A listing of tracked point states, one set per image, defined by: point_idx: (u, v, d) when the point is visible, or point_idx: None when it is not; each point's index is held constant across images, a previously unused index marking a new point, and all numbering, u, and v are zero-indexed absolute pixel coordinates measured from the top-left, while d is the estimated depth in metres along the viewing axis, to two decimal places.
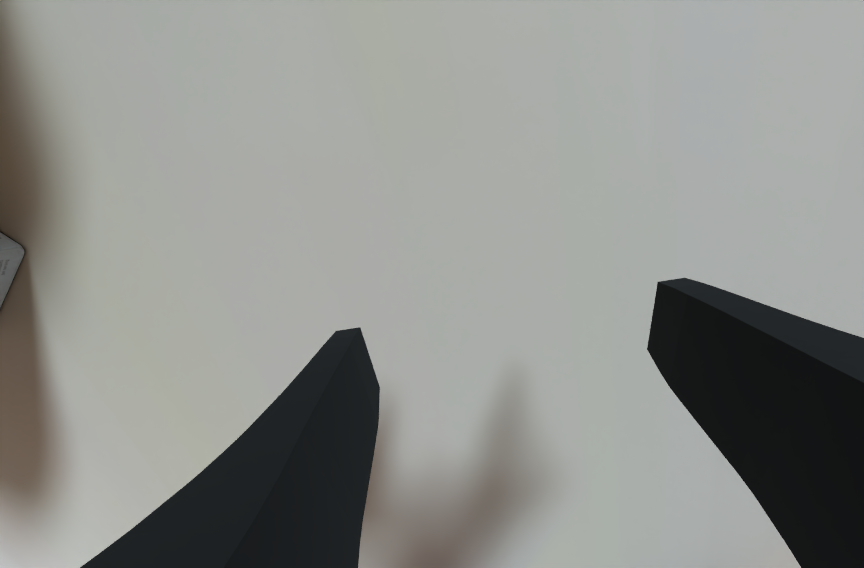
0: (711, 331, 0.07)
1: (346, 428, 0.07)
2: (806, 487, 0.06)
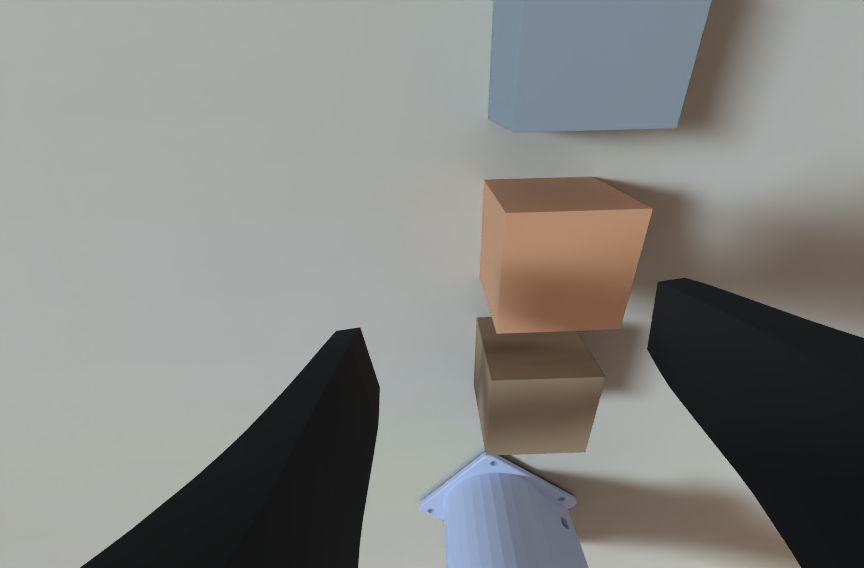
0: (711, 331, 0.07)
1: (346, 428, 0.07)
2: (806, 487, 0.06)
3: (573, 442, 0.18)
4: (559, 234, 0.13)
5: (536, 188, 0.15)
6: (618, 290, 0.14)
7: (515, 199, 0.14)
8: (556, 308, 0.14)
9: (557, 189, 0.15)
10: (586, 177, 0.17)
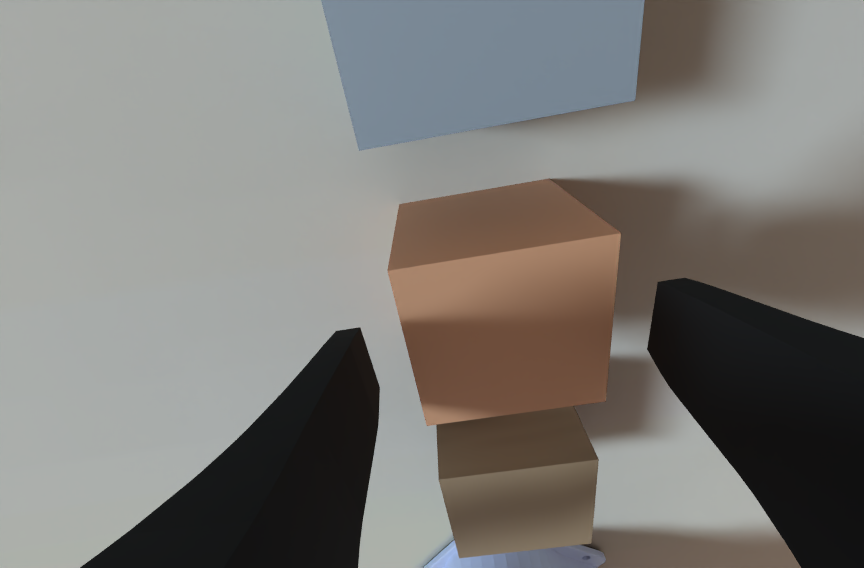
0: (711, 331, 0.07)
1: (346, 427, 0.07)
2: (806, 487, 0.06)
3: (572, 534, 0.13)
4: (479, 290, 0.08)
5: (460, 212, 0.11)
6: (591, 352, 0.09)
7: (418, 238, 0.09)
8: (503, 386, 0.10)
9: (489, 209, 0.10)
10: (539, 181, 0.12)
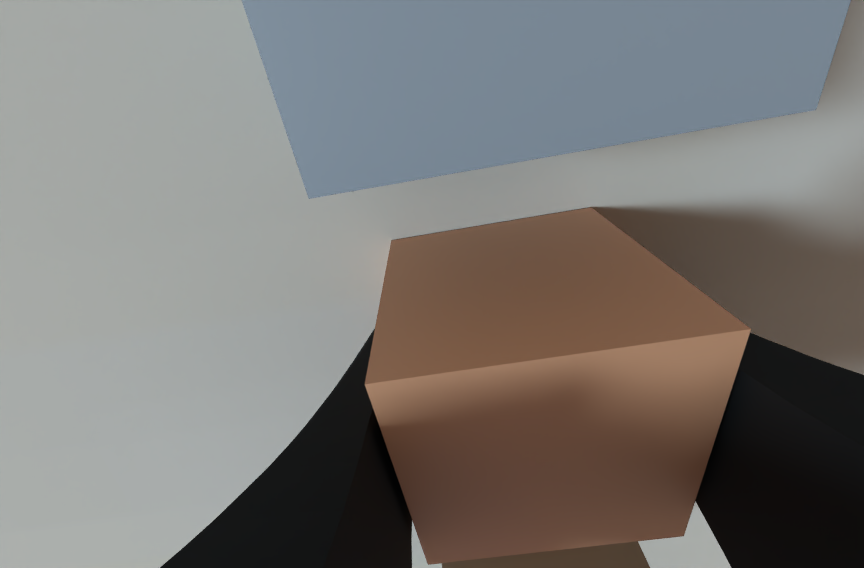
0: None
1: None
2: (736, 495, 0.06)
3: None
4: (512, 408, 0.05)
5: (474, 262, 0.07)
6: (673, 483, 0.06)
7: (416, 312, 0.06)
8: (539, 521, 0.07)
9: (516, 260, 0.07)
10: (579, 212, 0.09)
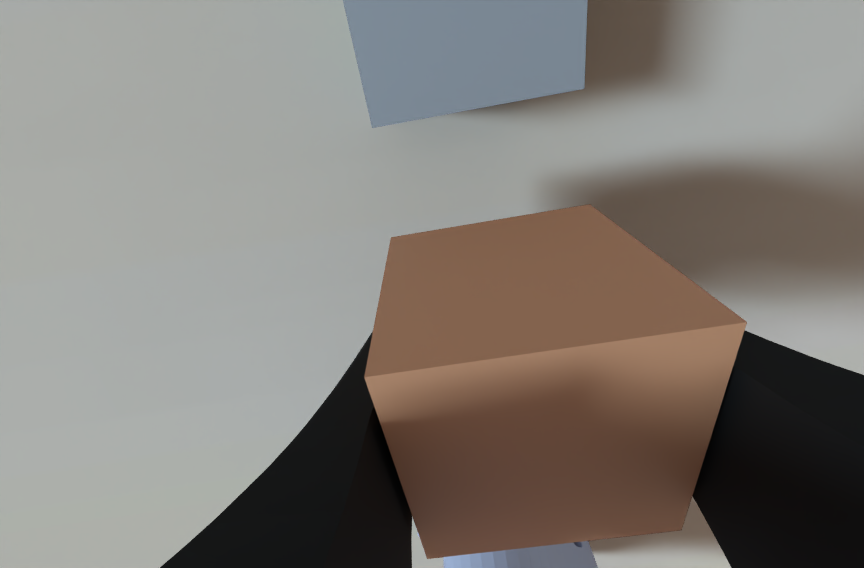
0: None
1: None
2: (736, 495, 0.06)
3: None
4: (510, 402, 0.05)
5: (473, 258, 0.07)
6: (671, 476, 0.06)
7: (416, 307, 0.06)
8: (538, 515, 0.07)
9: (515, 256, 0.07)
10: (578, 209, 0.09)
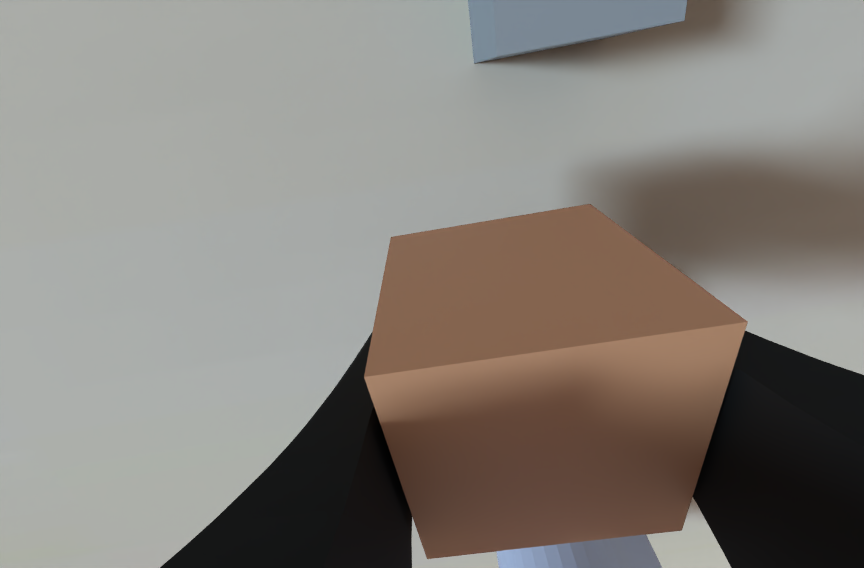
0: None
1: None
2: (735, 495, 0.06)
3: None
4: (510, 401, 0.05)
5: (473, 258, 0.07)
6: (671, 476, 0.06)
7: (415, 306, 0.06)
8: (538, 515, 0.07)
9: (515, 255, 0.07)
10: (578, 208, 0.09)
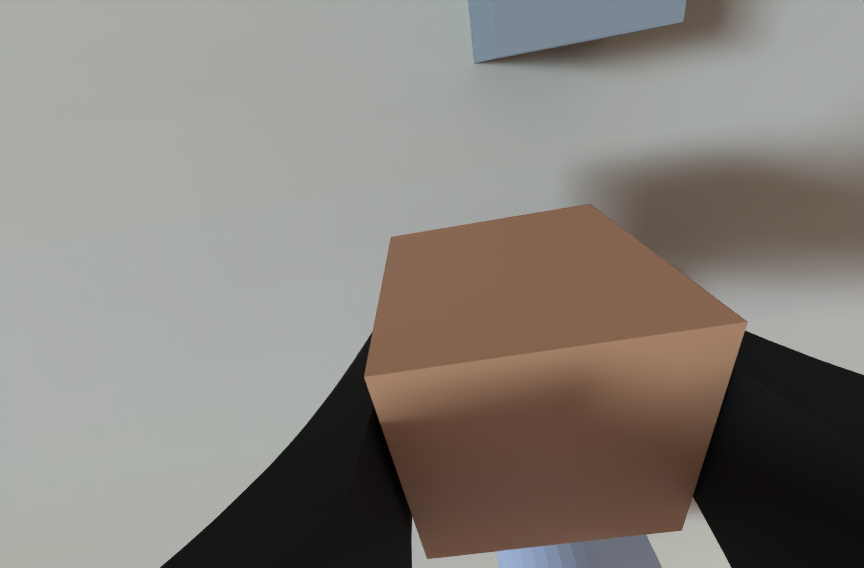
0: None
1: None
2: (735, 495, 0.06)
3: None
4: (510, 401, 0.05)
5: (473, 258, 0.07)
6: (671, 476, 0.06)
7: (415, 306, 0.06)
8: (538, 515, 0.07)
9: (515, 255, 0.07)
10: (578, 208, 0.09)
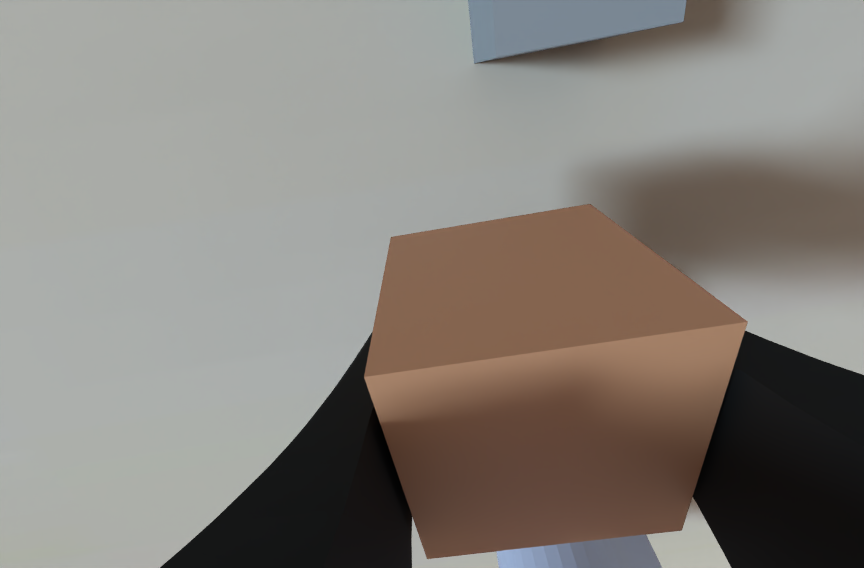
0: None
1: None
2: (735, 495, 0.06)
3: None
4: (510, 401, 0.05)
5: (473, 258, 0.07)
6: (671, 476, 0.06)
7: (415, 306, 0.06)
8: (538, 515, 0.07)
9: (515, 255, 0.07)
10: (578, 208, 0.09)
